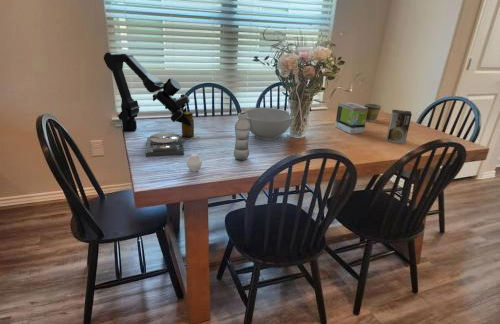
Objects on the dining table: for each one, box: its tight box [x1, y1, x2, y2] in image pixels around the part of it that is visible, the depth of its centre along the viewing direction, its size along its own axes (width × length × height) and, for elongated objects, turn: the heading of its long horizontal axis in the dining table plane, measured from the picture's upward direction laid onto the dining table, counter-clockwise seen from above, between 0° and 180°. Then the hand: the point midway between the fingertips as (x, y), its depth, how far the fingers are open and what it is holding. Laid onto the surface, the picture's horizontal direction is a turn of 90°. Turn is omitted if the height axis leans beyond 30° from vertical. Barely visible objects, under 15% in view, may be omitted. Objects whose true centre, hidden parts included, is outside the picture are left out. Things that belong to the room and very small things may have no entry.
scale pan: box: [149, 131, 180, 144], centre depth 150 cm, size 13×13×1 cm
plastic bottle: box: [233, 112, 251, 161], centre depth 137 cm, size 6×7×20 cm
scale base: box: [145, 135, 185, 158], centre depth 148 cm, size 16×20×3 cm
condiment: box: [179, 111, 199, 140], centre depth 163 cm, size 7×8×12 cm
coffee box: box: [386, 109, 413, 145], centre depth 169 cm, size 9×6×16 cm
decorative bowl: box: [241, 107, 295, 141], centre depth 168 cm, size 27×27×12 cm
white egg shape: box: [185, 153, 203, 173], centre depth 126 cm, size 6×6×7 cm
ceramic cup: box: [363, 103, 382, 123], centre depth 208 cm, size 13×10×10 cm
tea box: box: [334, 101, 368, 135], centre depth 185 cm, size 15×10×15 cm, turn 20°
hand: (191, 123), depth 164 cm, fingers closed on condiment, 6 cm apart
